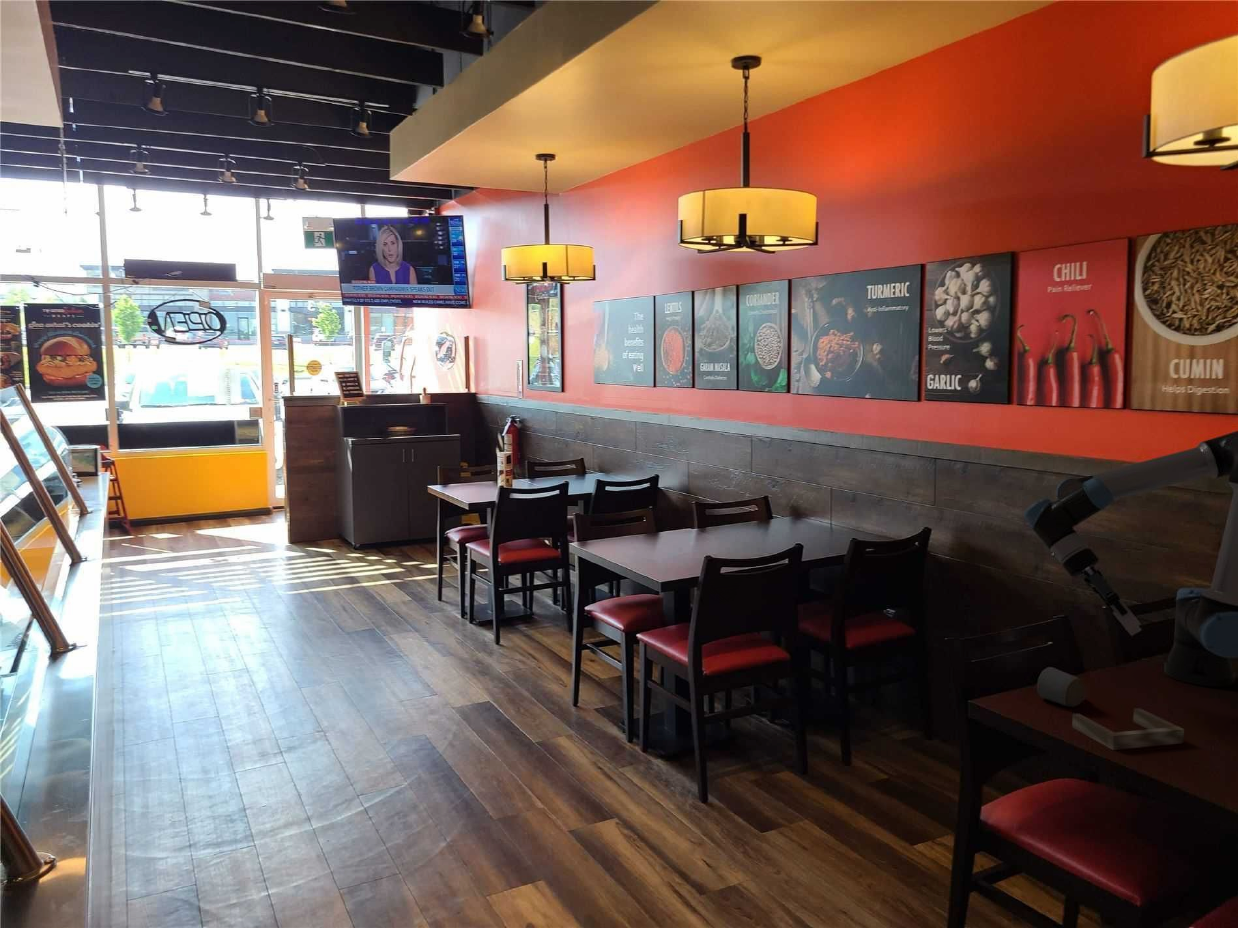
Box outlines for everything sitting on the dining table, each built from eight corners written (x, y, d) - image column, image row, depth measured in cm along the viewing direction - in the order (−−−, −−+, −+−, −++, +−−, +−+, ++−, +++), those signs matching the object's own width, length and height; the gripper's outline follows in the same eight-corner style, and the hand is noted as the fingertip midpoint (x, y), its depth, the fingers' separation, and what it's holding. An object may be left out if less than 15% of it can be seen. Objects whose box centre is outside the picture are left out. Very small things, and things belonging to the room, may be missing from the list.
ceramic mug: (1067, 711, 201) (1069, 679, 201) (1035, 700, 208) (1037, 668, 208) (1094, 703, 207) (1096, 672, 206) (1062, 692, 214) (1064, 662, 213)
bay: (1138, 721, 195) (1139, 708, 195) (1183, 742, 184) (1184, 729, 183) (1072, 727, 192) (1072, 714, 192) (1112, 749, 180) (1113, 735, 180)
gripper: (1065, 571, 225) (1122, 643, 215) (1056, 555, 205) (1119, 633, 194) (1092, 555, 223) (1151, 626, 213) (1085, 537, 202) (1150, 615, 192)
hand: (1136, 630), depth 203 cm, fingers open, 13 cm apart
